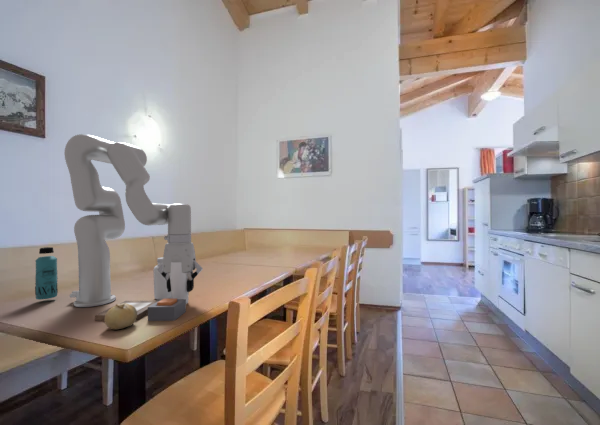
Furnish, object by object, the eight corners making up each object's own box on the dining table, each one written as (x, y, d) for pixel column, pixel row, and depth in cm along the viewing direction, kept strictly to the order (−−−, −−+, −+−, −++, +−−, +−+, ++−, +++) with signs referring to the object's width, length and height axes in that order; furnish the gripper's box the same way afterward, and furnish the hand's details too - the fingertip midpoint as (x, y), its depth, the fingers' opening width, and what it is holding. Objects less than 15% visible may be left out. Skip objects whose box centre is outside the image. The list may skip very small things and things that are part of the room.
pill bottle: (169, 293, 120) (168, 255, 120) (181, 296, 116) (180, 257, 116) (149, 298, 114) (149, 258, 114) (161, 301, 109) (160, 259, 109)
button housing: (147, 320, 90) (147, 307, 90) (161, 311, 98) (161, 299, 98) (174, 320, 89) (174, 306, 89) (185, 311, 97) (185, 299, 97)
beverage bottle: (31, 302, 111) (30, 248, 111) (51, 298, 117) (50, 246, 117) (42, 304, 108) (40, 248, 108) (62, 299, 115) (61, 246, 115)
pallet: (94, 320, 91) (94, 314, 91) (125, 305, 106) (125, 300, 106) (137, 320, 90) (137, 314, 90) (162, 304, 105) (162, 300, 105)
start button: (157, 312, 91) (157, 302, 91) (164, 308, 96) (164, 298, 96) (171, 312, 91) (170, 302, 91) (177, 308, 95) (177, 298, 95)
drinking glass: (194, 301, 109) (193, 259, 109) (185, 307, 102) (184, 262, 102) (175, 300, 109) (175, 259, 109) (165, 306, 103) (165, 262, 102)
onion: (97, 330, 83) (97, 304, 83) (122, 320, 90) (122, 296, 90) (119, 334, 80) (119, 307, 80) (144, 323, 88) (143, 298, 88)
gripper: (149, 240, 102) (150, 293, 102) (200, 240, 101) (200, 294, 101) (160, 238, 110) (161, 288, 110) (208, 238, 109) (208, 288, 109)
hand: (180, 290), depth 106 cm, fingers closed on drinking glass, 6 cm apart
